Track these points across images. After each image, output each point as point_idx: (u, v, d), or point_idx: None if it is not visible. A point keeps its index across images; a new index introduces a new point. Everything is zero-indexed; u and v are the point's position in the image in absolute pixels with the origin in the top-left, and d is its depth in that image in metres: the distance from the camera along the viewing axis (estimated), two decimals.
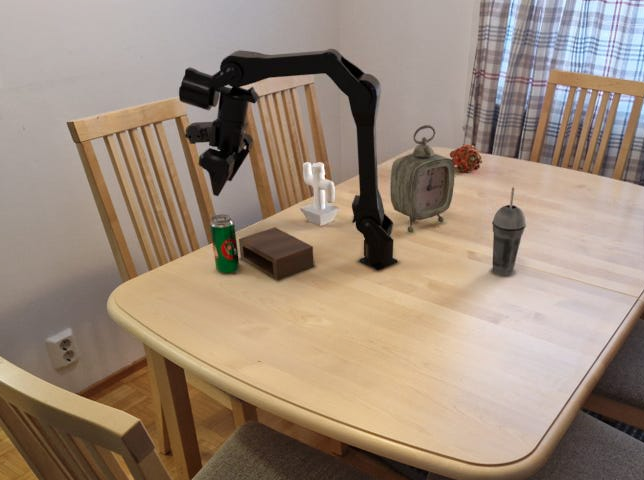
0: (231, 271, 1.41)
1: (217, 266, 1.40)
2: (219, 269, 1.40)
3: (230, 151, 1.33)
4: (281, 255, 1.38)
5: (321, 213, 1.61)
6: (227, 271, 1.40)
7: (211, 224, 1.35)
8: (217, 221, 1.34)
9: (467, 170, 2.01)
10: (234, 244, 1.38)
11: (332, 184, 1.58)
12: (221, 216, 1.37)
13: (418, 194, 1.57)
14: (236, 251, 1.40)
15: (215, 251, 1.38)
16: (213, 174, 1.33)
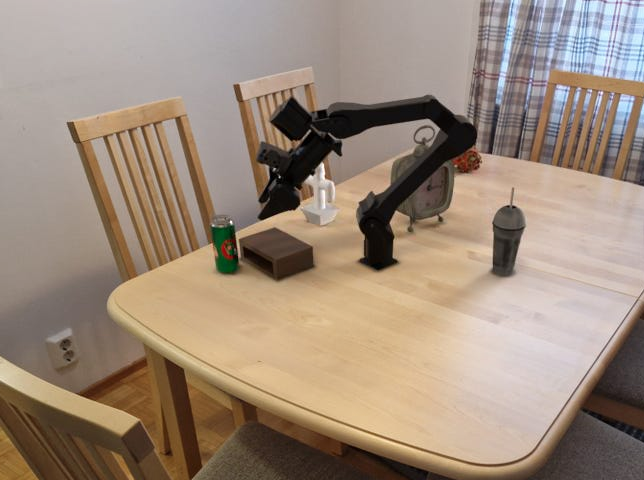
0: (231, 271, 1.41)
1: (217, 266, 1.40)
2: (219, 269, 1.40)
3: (293, 186, 1.32)
4: (281, 255, 1.38)
5: (321, 213, 1.61)
6: (227, 271, 1.40)
7: (211, 224, 1.35)
8: (217, 221, 1.34)
9: (467, 170, 2.01)
10: (234, 244, 1.38)
11: (332, 184, 1.58)
12: (221, 216, 1.37)
13: (418, 194, 1.57)
14: (236, 251, 1.40)
15: (215, 251, 1.38)
16: (272, 202, 1.30)
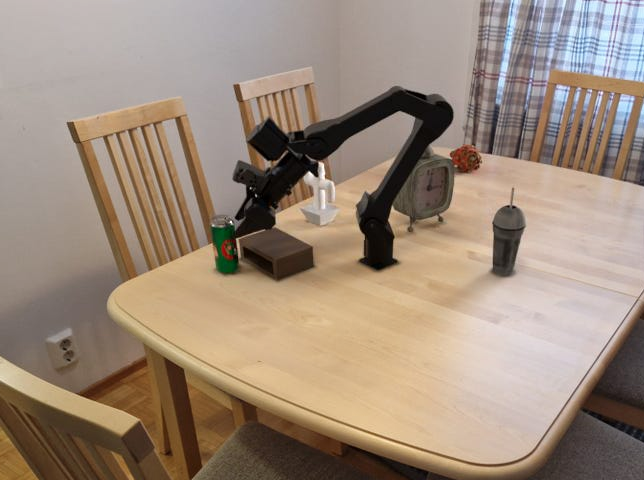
0: (231, 271, 1.41)
1: (217, 266, 1.40)
2: (219, 269, 1.40)
3: (269, 205, 1.33)
4: (281, 255, 1.38)
5: (321, 213, 1.61)
6: (227, 271, 1.40)
7: (211, 224, 1.35)
8: (217, 221, 1.34)
9: (467, 170, 2.01)
10: (234, 244, 1.38)
11: (332, 184, 1.58)
12: (221, 216, 1.37)
13: (418, 194, 1.57)
14: (236, 251, 1.40)
15: (215, 251, 1.38)
16: (247, 220, 1.31)
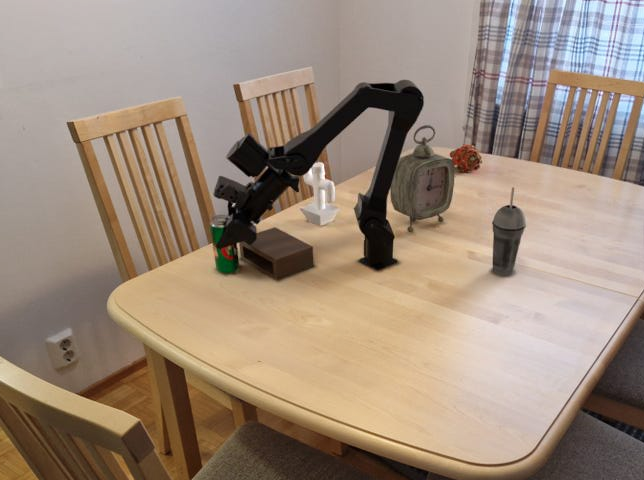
0: (231, 271, 1.41)
1: (217, 266, 1.40)
2: (219, 269, 1.40)
3: (251, 220, 1.34)
4: (281, 255, 1.38)
5: (321, 213, 1.61)
6: (227, 271, 1.40)
7: (211, 224, 1.35)
8: (217, 221, 1.34)
9: (467, 170, 2.01)
10: (234, 244, 1.38)
11: (332, 184, 1.58)
12: (221, 216, 1.37)
13: (418, 194, 1.57)
14: (236, 251, 1.40)
15: (215, 251, 1.38)
16: (229, 232, 1.34)
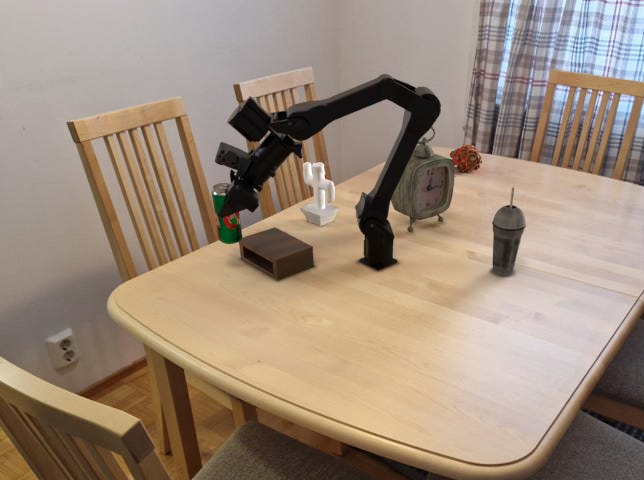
0: (234, 241, 1.37)
1: (220, 236, 1.37)
2: (221, 239, 1.37)
3: (253, 187, 1.31)
4: (281, 255, 1.38)
5: (321, 213, 1.61)
6: (230, 241, 1.37)
7: (213, 192, 1.32)
8: (219, 189, 1.31)
9: (467, 170, 2.01)
10: (236, 213, 1.35)
11: (332, 184, 1.58)
12: (223, 184, 1.33)
13: (418, 194, 1.57)
14: (239, 221, 1.36)
15: (217, 220, 1.35)
16: (231, 199, 1.30)
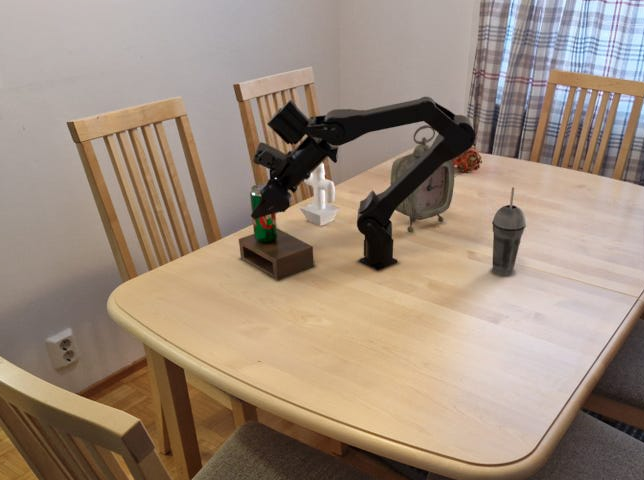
0: (268, 241, 1.42)
1: (255, 235, 1.42)
2: (257, 238, 1.42)
3: (288, 188, 1.35)
4: (281, 255, 1.38)
5: (321, 213, 1.61)
6: (264, 241, 1.42)
7: (251, 192, 1.37)
8: (256, 190, 1.36)
9: (467, 170, 2.01)
10: (272, 214, 1.40)
11: (332, 184, 1.58)
12: (262, 185, 1.38)
13: (418, 194, 1.57)
14: (274, 221, 1.41)
15: (253, 220, 1.40)
16: (264, 202, 1.33)
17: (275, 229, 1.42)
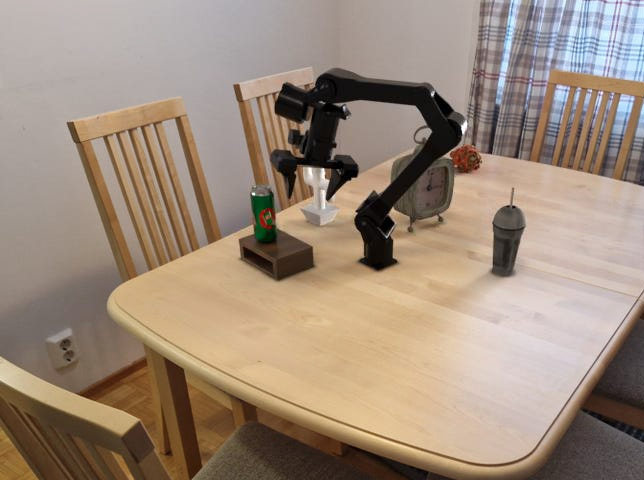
0: (268, 241, 1.42)
1: (255, 235, 1.42)
2: (257, 238, 1.42)
3: (307, 161, 1.36)
4: (281, 255, 1.38)
5: (321, 213, 1.61)
6: (264, 241, 1.42)
7: (251, 192, 1.37)
8: (257, 190, 1.36)
9: (467, 170, 2.01)
10: (272, 214, 1.40)
11: None
12: (262, 185, 1.38)
13: (418, 194, 1.57)
14: (274, 221, 1.41)
15: (254, 220, 1.40)
16: None
17: (275, 229, 1.42)
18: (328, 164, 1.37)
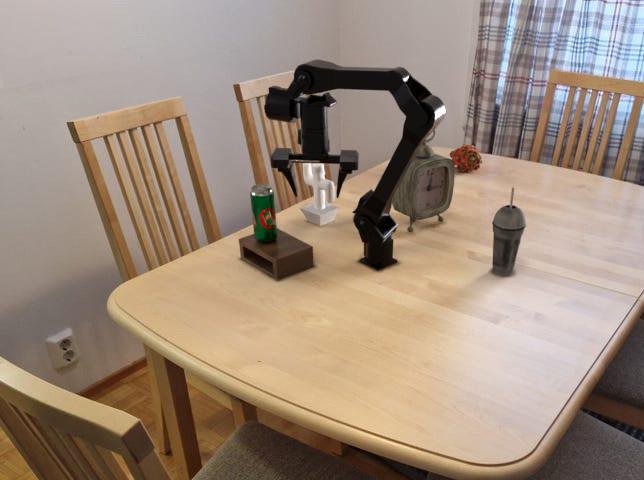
0: (268, 241, 1.42)
1: (255, 235, 1.42)
2: (257, 238, 1.42)
3: (303, 156, 1.38)
4: (281, 255, 1.38)
5: (321, 213, 1.61)
6: (264, 241, 1.42)
7: (251, 192, 1.37)
8: (257, 190, 1.36)
9: (467, 170, 2.01)
10: (272, 214, 1.40)
11: (332, 184, 1.58)
12: (262, 185, 1.38)
13: (418, 194, 1.57)
14: (274, 221, 1.41)
15: (254, 220, 1.40)
16: None
17: (275, 229, 1.42)
18: (321, 157, 1.37)
